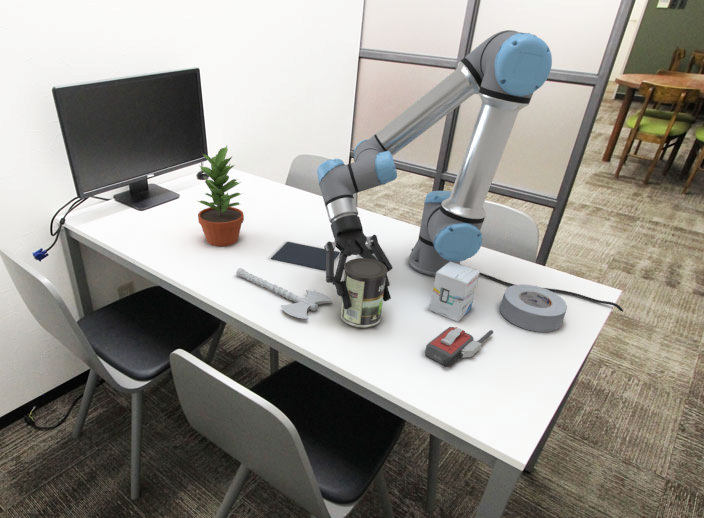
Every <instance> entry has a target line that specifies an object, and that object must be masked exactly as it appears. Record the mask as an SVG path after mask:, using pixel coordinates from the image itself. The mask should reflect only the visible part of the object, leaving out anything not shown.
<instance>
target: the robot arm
mask: <svg viewBox="0 0 704 518" xmlns="http://www.w3.org/2000/svg"><path fill="white" fill-rule="evenodd" d="M552 65H553V56H552V52H551V50H550V47H549V45H548V44H547V42H546V41H544V40H543V39H542V38H540V37H539V36H537V35H536V34H532V33H530V32H521V31H517V30H510V29H509V30H502V31H499V32H496V33H494V34H492V35H491V36H489V37H487V39H485V40H484V41H483V42H481V43H480V44H479V45H478V46H476V47H475V48H474V49H473V50H471V52H469V53H468V54H467V55H466V56H464V57H463V58H462V59H460V61H459V62H458V63H457V68H456V69H455V70H453V72H451V73H450V74H449V75H447V76H446V77H445V78H443V79H442V80H441V81H439V83H437V84H436V85H435V86H433V87H432V88H431V89H430V90H429V91H427V92H426V93H424V95H422V96H421V97H420V98H419V99H417V100H416V101H414V103H413V104H411V105H410V106H409V107H407V108H406V109H405V110H403V112H401V113H400V114H398V115H397V116H396V117H394V119H392V120H391V121H390V122H388V124H387V125H385V126H384V127H382V128H381V129H380V130H379V131H377V132H376V133H375V134H374V135H372V136H371V137H370V138H368V139H363V140H361V141H359V142H357V144H356V145H355V147H354V150H353V162H351V163H348V164H345V162H344V161H343V160H342V159H340V158H333V159H332V158H331V159H327V160H325V161H323V162H321V163H320V164H319V165H318V167H317V168H316V175H317V181H318V186H319V189H320V192H321V196H322V200H323V203H324V206H325V211H326V213H327V218H328V221H329V223H330V227H331V232H332V236H333V239H334V241H330V240H329V241H327V242H326V243H325V244H324V246H323V249H325V251H326V271H325V282H326V283H328V284H330V283H331V284H332V285H333V286H334V287H335V291H336V294H337V296H338V297H341V302H342V301H343V304H344V308H345V309H349V308H350V307H352V305H351V302H350V298H349V294H348V291H347V287H346V284H345V281H344V280H342V278H343V276H344V265H345V263H346V262H347V259H348V257H352V256H356V255H358V254H359V255H360V256H361V257H363V258H368V259H374V260H377V261H379V262H381V263H383V264H384V265H385V266H386V267H387V274H386V279H385V287H384V295H383V302H384V303H385V302H388V301H389V300H391V299H392V296H391V294H390V289H389V287H390V285H391V283H390V280H389V276H388V272H390V271H391V270H392V269H393V265H392V263H391V262H390V260H389V258H388V257H387V255H386V253H385V252H384V250H383V248H382V247H381V245H380V243H379V240H378V236H377V235H376V234H372V235H371V236H366V234H365V233H364V229H363V228H364V227H363V225H362V221H361V218H360V216H359V210H358V207H357V204H356V201H355V197H354V195H355V194H358V193H361V192H364V191H367V190H370V189H373V188H376V187H379V186H384V185H386V184H389V183H391V182H393V181H395V180H396V179H397V178H398V173H397V167H396V164H395V161H394V155H396V154H398V153H399V152H400V151H402V150H403V149H404V148H406V147H407V146H408V145H409V144H411V143H412V142H413V141H414V140H416V139H418V137H420V136H421V135H422V134H424V133H425V132H427V131H428V130H429V129H431V128H432V127H433V126H434V125H436V124H437V123H438V122H439V121H441V120H442V119H443V118H444V117H446V116H447V115H448V114H450V113H452V111H454V110H455V109H457V107H459V106H460V105H462V104H463V103H465V102H466V101H467V100H468V99H469V98H471V97H473V96H474V95H478V96H479V97H480V101H481V104H480V107H479V109H478V113H477V115H476V119H475V121H474V125H473V127H472V131H471V133H470V136H469V140H468V142H467V145H466V148H465V151H464V154H463V157H462V160H461V162H460V166H459V169H458V172H457V175H456V178H455V181H454V184H453V187H452V189H451V190H432V191H429V192H428V193H427V194H426V195H425V199H424V201H423V210H422V216H421V222H420V228H419V234H418V239H417V241H416V243H415V245H414V246H413V247H412V248H411V250H410V253H409V257H408V265H409V266H410V268H412V269H413V270H414V271H416V272H418V273H420V274H423V275H425V276H426V275H427V276H430V277H436V272H437V271H438V270H440V269H441V268H442V267H444V266H445V265H446V264H447V263H449V262H450V261H451V262H454V263H457V264H460V265H461V262H463V261H467V260H468V259H470V258H472V257H474V256H475V255H477V253H478V252H479V250H480V249H481V247H482V244H483V234H482V232H481V229H482V226H483V224H484V222H485V219H486V216H487V214H486V210H485V209H484V207H483V206H484V204H485V202H486V199H487V196H488V194H489V191H490V188H491V185H492V183H493V180H494V177H495V176H496V172H497V170H498V168H499V164H500V162H501V159H502V157H503V154H504V152H505V148H506V146H507V143H508V140H509V138H510V136H511V133H512V131H513V128H514V125H515V122H516V121H517V117H518V115H519V112H520V111H521V110H523V109H524V108H527V107H528V106H529V105H530V103H531V100H532V98H533V95H534V93H535V92H536V91H537V90H539V89H541V87H542V86H543V85H544V84H545V83H546V81H547V79H548V78H549V76H550V74H551V70H552ZM365 244H368V245H370V247H371V249H372V251H373V253H374V255H375V256H376V258H377V259H376V258H375V257H374V255H373V254H372V253H371V252H370V250H369V248H368V247H367V246H366V245H365ZM336 249H337V250H339V252H340V253H339V254H338V261H337V266H336V269H335V260H334V251H336ZM363 251H364V252H363ZM479 276H482V277H484V278H487V279H490V280H493V281H495V282H497V283H500V284H504V285H506V286H509V287H510V286H513V285H516V284H514V283H511V282H508V281H504V280H502V279H499V278H497V277H494V276H491V275H489V274H486V273H483V272H480V273H479ZM543 288H544V289H547V290H549V291H551V292H553V293H560V294H566V295H571V296H574V297H578V298H581V299H584V300H588V301H591V302H594V303H597V304H602V305H603V304H604V305H610V306H613V307H616V308H617V309H618V310H619V311H620V312H624V309H623V307H621V305H619V304H617V303H615V302H612V301H607V300H600V299H596V298H594V297H593V298H592V297H590V296H586V295H583V294H580V293H577V292H572V291H569V290H563V289H556V288H547V287H543Z"/></svg>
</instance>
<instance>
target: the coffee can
mask: <svg viewBox="0 0 704 518" xmlns="http://www.w3.org/2000/svg"><path fill="white" fill-rule="evenodd" d="M386 274H387V275H388V272H387V267H386V266H385V265H384V264H383V263H381V262H379V261H377V260H374V259H368V258H357V259H356V258H353V259H350V260H348V261H346V263H345V265H344V271H343V281H345V284H346V287H347V291H348V294H349V298H350V302H351V305H352V307H350V308H349V309H345V308H344V304H343V301H342V300H341V311H340V318H341V320H342V321H343V322H344V323H346V324H348V325H350V326H351V327H356V328H371V327H375V326H376V325H378V324H379V323H380V322H381V319H382V308H383V302H384V301H383V295H384V287H385V279H386Z"/></svg>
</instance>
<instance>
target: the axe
mask: <svg viewBox="0 0 704 518" xmlns="http://www.w3.org/2000/svg"><path fill="white" fill-rule="evenodd" d="M235 274H236V276H238V277H240V278H243V279H246V280H247V281H251V282H252V283H253V284H254V283H255V284H256V285H257V286H261V287H262V288H265V289H267V290H270V292H272V293H275V294H276V295H277V296H281V297H282V298H286V299H287V300H288V301H292V302H294V303H290V304H281V305H280V307H281V309H282V311H283V312H285V314H287V315H289V316H291V317H294V318H297V319H303V320H308V319H309V318H308V315H307V313H308V311H309V310H311V311H313V312H316V311H317V310H318V307H319V305H324V304H333V303H334V301H333V299H332V298H331V297H329V296H328V295H327V294H325V293H323V292H320V291H317V290H311V289H306V290H305V291H306V294H307V295H306V297H305V298H303V297H301V296H299V295H296V294H294V293H293V292H292V291H289V290H288V289H286V288H285V289H284V288H283V287H282V286H278V285H277V284H273V283H271V282H269V281H267V280H265V279H263V278H261V277H258V276H257V275H253V273H251V272H250V273H249V272H248V271H246V270H245V269H244V268H242V267H239V268H238V269H236V272H235Z"/></svg>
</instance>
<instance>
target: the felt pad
mask: <svg viewBox="0 0 704 518" xmlns="http://www.w3.org/2000/svg"><path fill="white" fill-rule="evenodd" d="M340 252H341V251H336V250H334V261H335V260H336V258H337V257H339V255H340ZM270 260H274V261H279V262H284V263H287V264H288V263H289V264H292V265H298V266H301V267H306V268H311V269H316V270H320V271H324V272H326V251H325V248H322V247H317V246H312V245H307V244H302V243H296V242H292V241H286V243H284V244H283V245H282V247H280V248H279V249H278V250H277V252H275V253H274V254H273V255H272V256H271V257H270Z"/></svg>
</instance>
